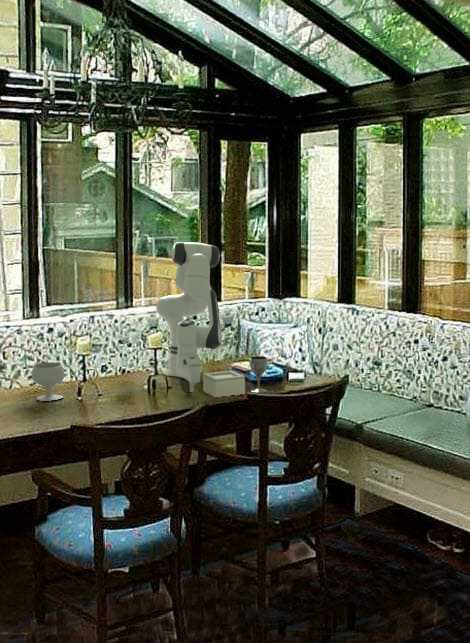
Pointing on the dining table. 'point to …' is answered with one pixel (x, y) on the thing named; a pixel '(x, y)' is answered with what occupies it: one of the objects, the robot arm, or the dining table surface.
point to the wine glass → (258, 369)
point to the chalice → (48, 378)
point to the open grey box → (223, 383)
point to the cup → (185, 387)
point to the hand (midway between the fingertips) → (188, 389)
